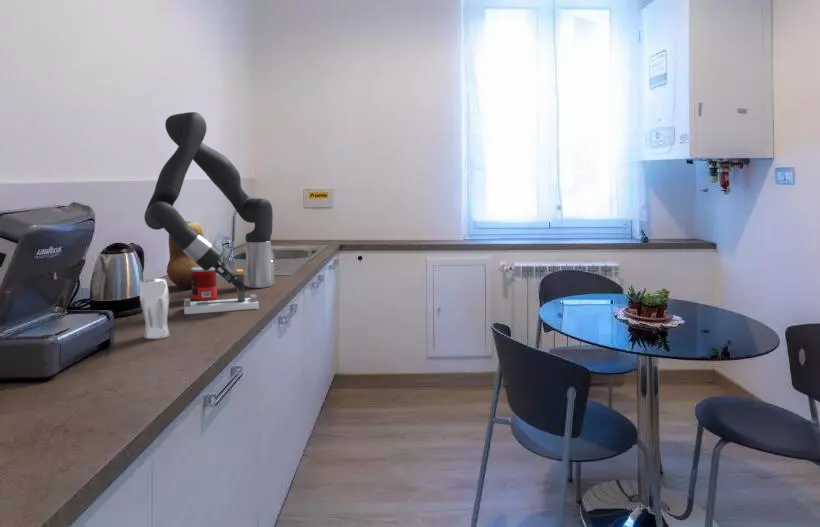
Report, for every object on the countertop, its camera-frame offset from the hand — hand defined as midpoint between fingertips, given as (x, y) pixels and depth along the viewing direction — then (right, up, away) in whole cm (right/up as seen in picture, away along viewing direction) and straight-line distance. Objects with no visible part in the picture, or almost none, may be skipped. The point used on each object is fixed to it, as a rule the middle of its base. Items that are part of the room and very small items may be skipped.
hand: (242, 286), depth 184 cm
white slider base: (-6, -7, -1) cm, 9 cm away
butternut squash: (-31, -2, +33) cm, 45 cm away
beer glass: (-13, -12, -33) cm, 37 cm away
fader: (-1, -4, 0) cm, 4 cm away
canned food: (-16, -5, +12) cm, 21 cm away
